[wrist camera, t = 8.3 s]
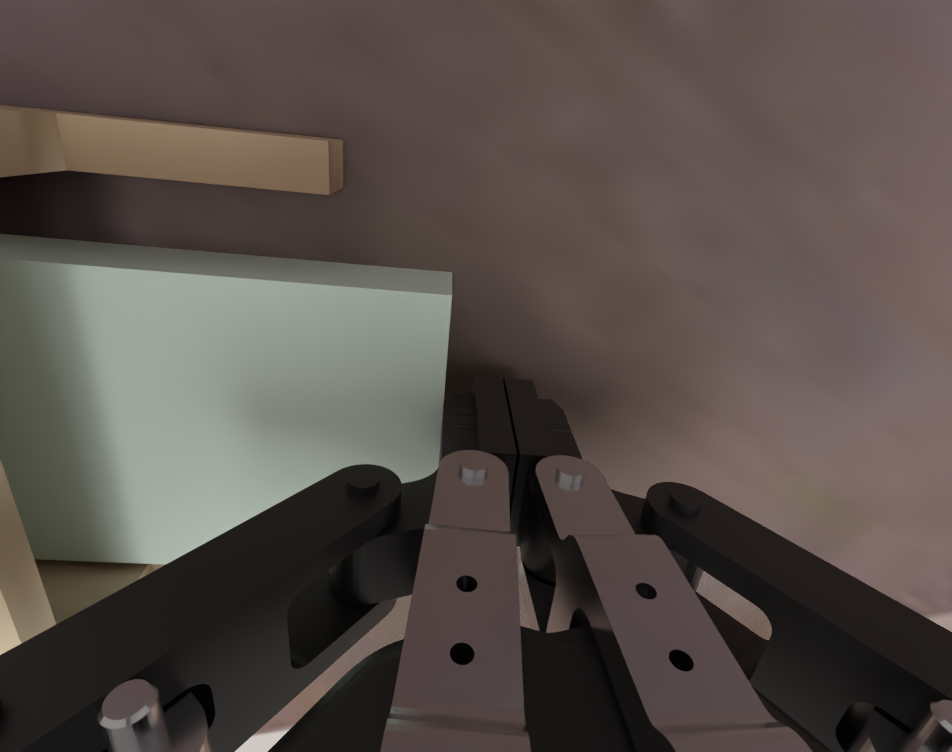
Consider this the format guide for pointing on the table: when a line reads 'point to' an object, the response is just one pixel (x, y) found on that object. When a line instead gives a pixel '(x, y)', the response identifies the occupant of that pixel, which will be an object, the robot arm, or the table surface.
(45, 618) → the beige forked block
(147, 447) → the panel
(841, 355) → the table surface
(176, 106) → the table surface
